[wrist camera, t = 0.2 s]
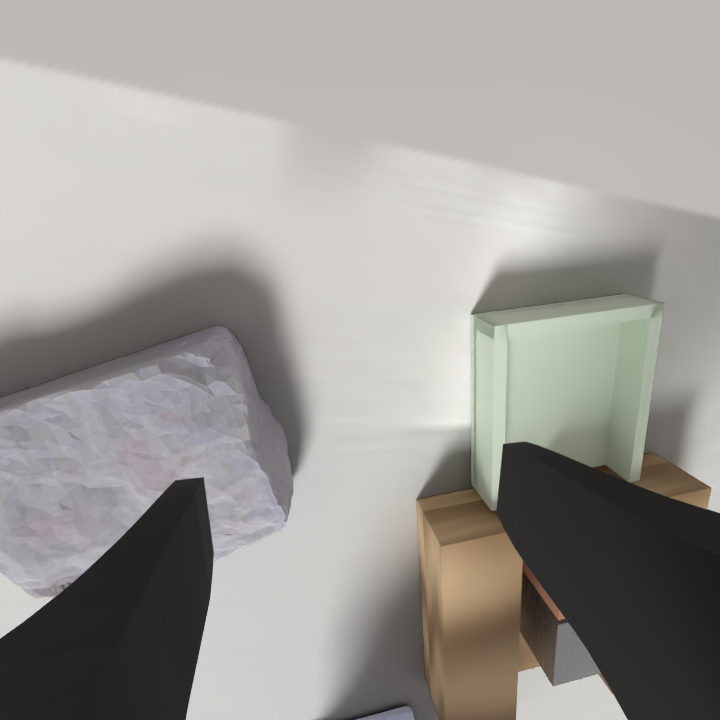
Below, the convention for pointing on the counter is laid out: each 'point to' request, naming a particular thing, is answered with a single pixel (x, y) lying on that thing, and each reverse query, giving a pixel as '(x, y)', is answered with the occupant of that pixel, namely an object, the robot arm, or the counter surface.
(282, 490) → the stone block
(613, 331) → the sage tray
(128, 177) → the counter surface
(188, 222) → the counter surface
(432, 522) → the oak channel board
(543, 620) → the grey steel block
